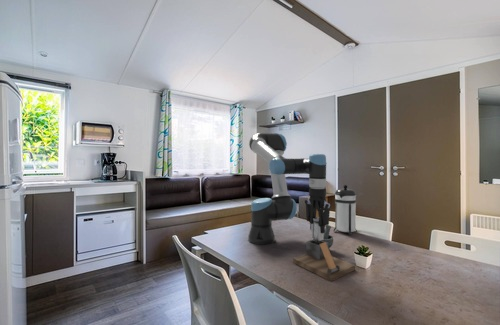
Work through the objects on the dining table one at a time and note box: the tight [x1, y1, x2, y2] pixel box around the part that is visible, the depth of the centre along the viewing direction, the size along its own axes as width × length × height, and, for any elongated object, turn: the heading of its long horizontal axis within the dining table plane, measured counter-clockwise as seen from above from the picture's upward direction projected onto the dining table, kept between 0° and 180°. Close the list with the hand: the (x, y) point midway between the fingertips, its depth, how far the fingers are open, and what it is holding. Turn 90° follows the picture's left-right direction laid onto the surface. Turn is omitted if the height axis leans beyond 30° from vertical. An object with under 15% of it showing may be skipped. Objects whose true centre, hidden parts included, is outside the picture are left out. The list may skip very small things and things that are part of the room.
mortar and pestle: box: [321, 225, 334, 250], centre depth 123 cm, size 11×9×12 cm
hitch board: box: [292, 239, 356, 282], centre depth 104 cm, size 20×16×8 cm
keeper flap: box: [320, 242, 338, 273], centre depth 96 cm, size 11×4×1 cm
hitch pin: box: [312, 216, 321, 245], centre depth 111 cm, size 4×4×14 cm
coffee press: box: [333, 184, 358, 236], centre depth 154 cm, size 17×16×30 cm
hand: (317, 238), depth 111 cm, fingers closed on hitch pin, 3 cm apart
